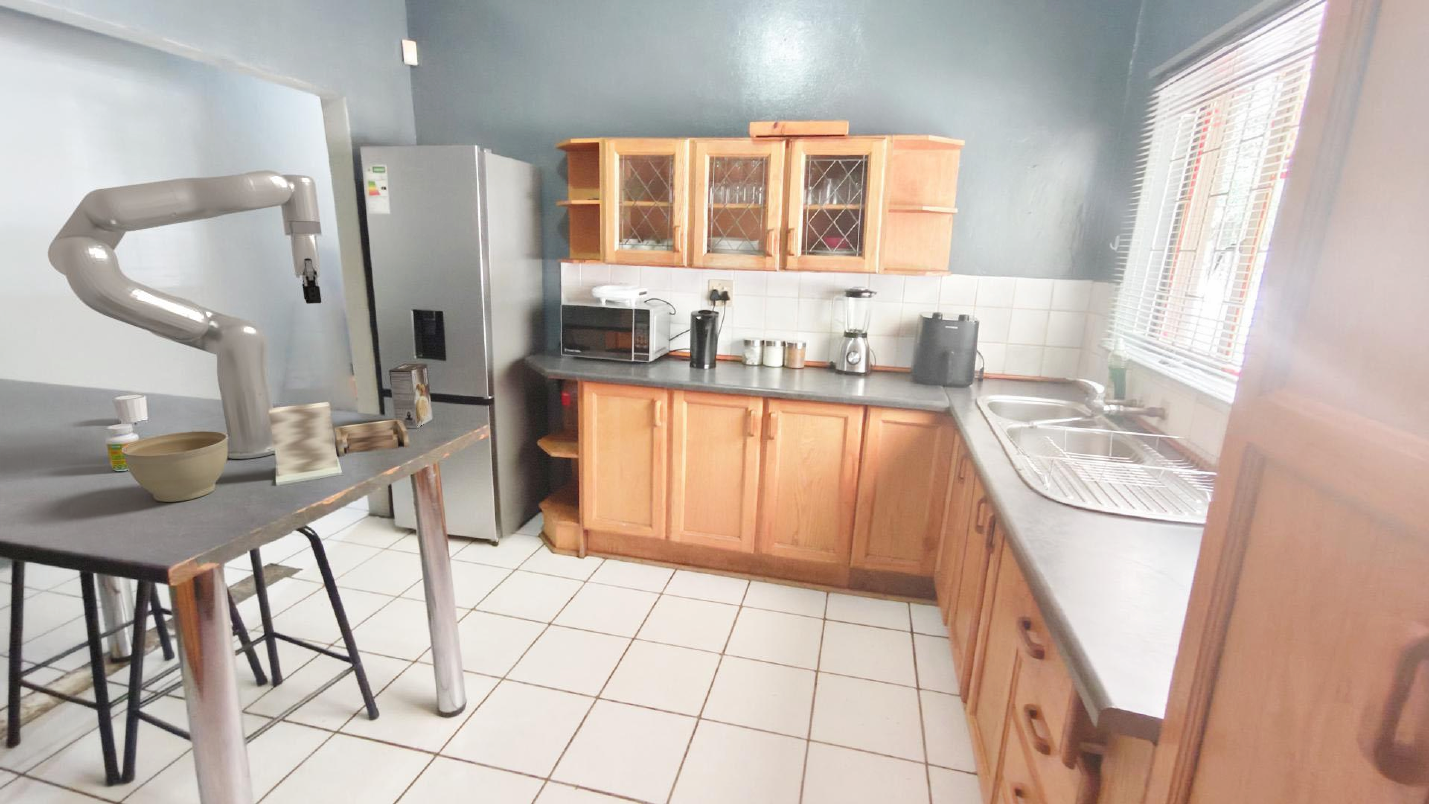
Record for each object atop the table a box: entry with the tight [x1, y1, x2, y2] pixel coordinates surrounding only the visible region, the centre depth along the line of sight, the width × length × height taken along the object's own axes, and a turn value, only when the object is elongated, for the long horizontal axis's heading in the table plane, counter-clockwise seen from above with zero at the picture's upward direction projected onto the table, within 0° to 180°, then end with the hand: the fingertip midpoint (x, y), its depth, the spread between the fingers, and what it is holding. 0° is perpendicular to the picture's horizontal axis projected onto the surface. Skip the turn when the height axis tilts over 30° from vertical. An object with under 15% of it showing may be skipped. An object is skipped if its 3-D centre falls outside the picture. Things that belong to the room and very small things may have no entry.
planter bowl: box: [121, 430, 228, 503], centre depth 129 cm, size 16×16×11 cm
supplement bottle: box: [105, 423, 141, 470], centre depth 142 cm, size 5×5×10 cm
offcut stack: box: [346, 430, 399, 454], centre depth 159 cm, size 11×5×4 cm, turn 113°
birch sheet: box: [269, 401, 338, 476], centre depth 141 cm, size 11×4×14 cm, turn 124°
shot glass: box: [111, 393, 149, 422], centre depth 176 cm, size 7×7×7 cm
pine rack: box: [333, 419, 410, 457], centre depth 161 cm, size 15×12×4 cm
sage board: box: [275, 456, 343, 486], centre depth 143 cm, size 12×12×1 cm
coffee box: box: [388, 363, 434, 429], centre depth 178 cm, size 9×6×16 cm
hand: (312, 301), depth 160 cm, fingers open, 9 cm apart
